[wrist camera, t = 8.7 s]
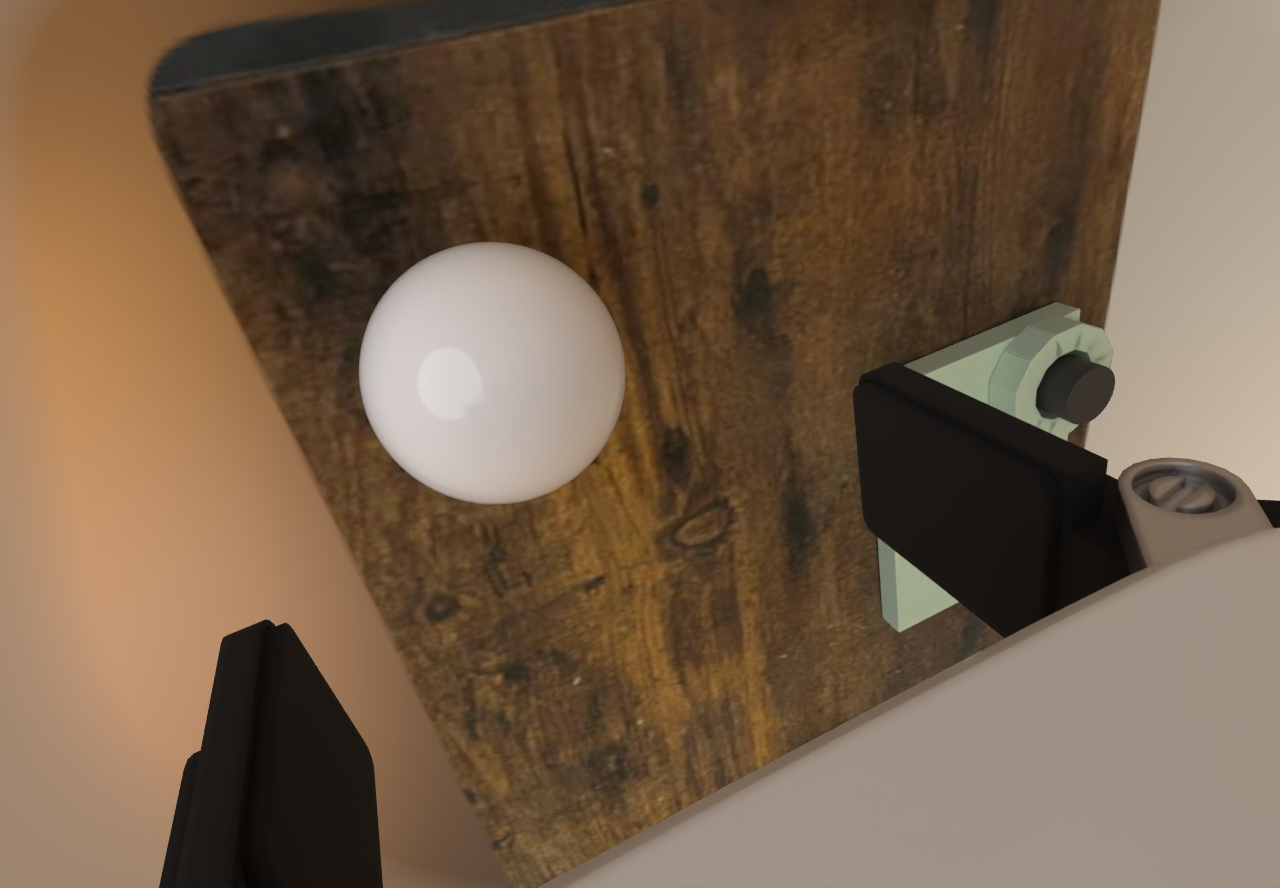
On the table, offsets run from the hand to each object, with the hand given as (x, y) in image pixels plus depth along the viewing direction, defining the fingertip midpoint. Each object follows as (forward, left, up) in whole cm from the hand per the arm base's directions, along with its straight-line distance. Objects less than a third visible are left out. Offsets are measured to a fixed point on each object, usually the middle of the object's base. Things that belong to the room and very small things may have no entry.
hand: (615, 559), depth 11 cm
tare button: (+12, +25, -13) cm, 30 cm away
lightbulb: (0, 0, -16) cm, 16 cm away
